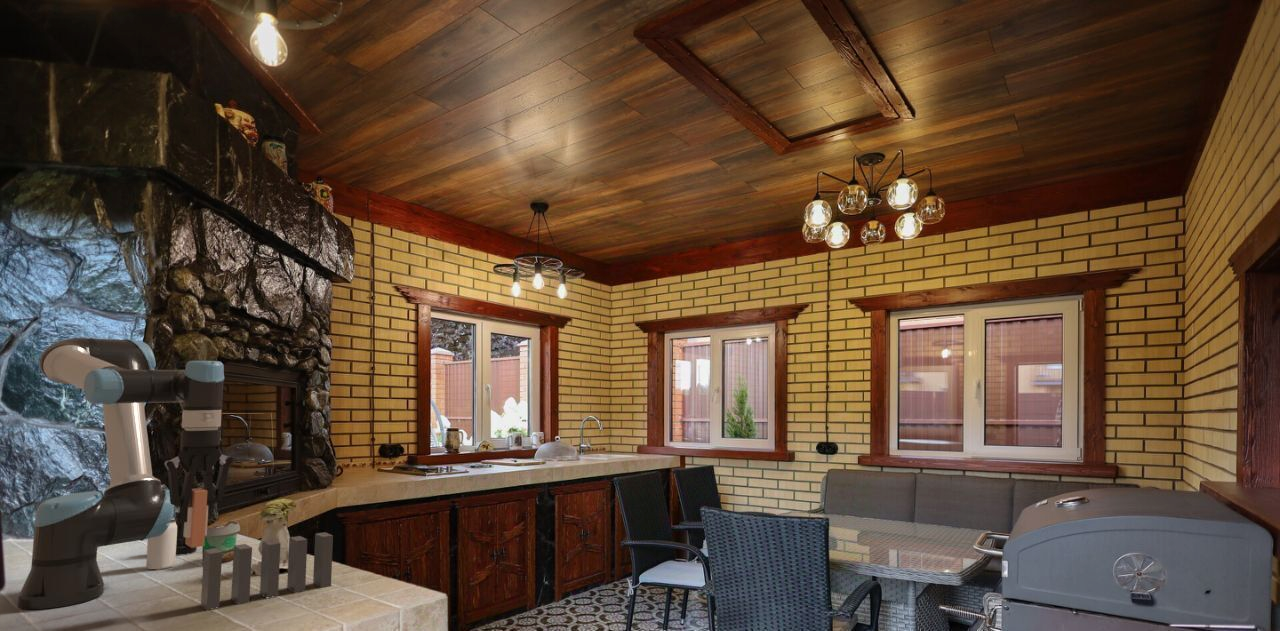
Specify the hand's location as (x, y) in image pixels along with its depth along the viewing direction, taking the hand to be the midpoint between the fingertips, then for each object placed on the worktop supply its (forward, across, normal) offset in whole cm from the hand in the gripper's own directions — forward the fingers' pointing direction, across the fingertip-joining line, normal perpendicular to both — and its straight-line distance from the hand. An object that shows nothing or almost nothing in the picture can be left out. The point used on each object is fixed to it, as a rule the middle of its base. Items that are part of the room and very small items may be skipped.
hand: (195, 535), depth 155 cm
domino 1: (+2, 0, 0) cm, 2 cm away
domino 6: (+16, +27, -3) cm, 31 cm away
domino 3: (+16, +9, -2) cm, 18 cm away
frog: (+16, +25, +21) cm, 36 cm away
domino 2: (+16, +3, -2) cm, 16 cm away
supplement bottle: (+16, +12, +60) cm, 64 cm away
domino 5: (+16, +21, -3) cm, 26 cm away
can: (+16, +4, +46) cm, 49 cm away
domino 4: (+16, +15, -3) cm, 22 cm away
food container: (+16, +18, +40) cm, 47 cm away
